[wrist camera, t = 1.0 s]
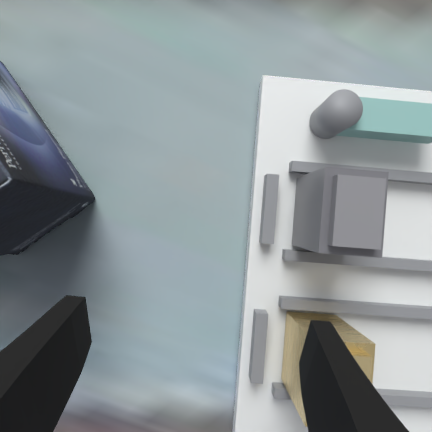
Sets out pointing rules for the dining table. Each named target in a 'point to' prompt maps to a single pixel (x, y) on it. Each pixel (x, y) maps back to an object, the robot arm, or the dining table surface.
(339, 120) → the paddle
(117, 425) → the dining table surface
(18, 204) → the small box
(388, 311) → the control board
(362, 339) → the slider brass
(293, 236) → the slider graphite
